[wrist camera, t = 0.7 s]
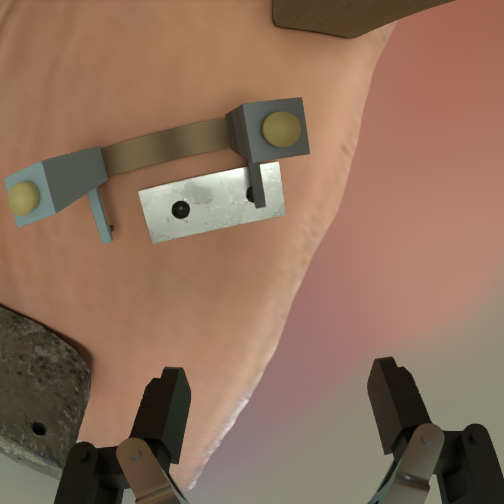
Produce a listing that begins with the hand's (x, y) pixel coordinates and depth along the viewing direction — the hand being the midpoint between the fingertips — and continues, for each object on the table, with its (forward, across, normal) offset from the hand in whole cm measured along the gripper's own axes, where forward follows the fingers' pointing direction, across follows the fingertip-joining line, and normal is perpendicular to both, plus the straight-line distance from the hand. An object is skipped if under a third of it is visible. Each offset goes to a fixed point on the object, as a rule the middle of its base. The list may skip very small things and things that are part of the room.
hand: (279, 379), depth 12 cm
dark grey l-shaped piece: (+22, +10, -5) cm, 25 cm away
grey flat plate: (+23, +6, -1) cm, 23 cm away
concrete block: (+16, +38, +14) cm, 43 cm away
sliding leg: (+19, +17, -4) cm, 26 cm away
